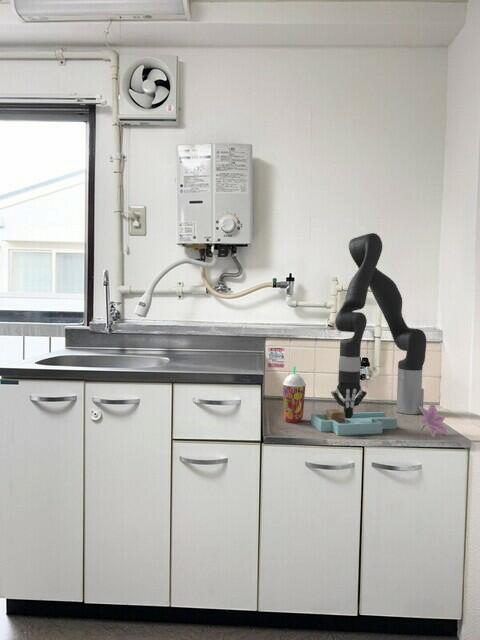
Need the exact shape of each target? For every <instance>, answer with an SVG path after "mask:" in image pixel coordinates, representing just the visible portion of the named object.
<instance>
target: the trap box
mask: <svg viewBox="0 0 480 640" xmlns="http://www.w3.org/2000/svg"><path fill="white" fill-rule="evenodd" d="M385 415H386V412H385V411H371V412H369V411H368V412H367V411H366V412H353V416H352V417H351V418H346V417H345V422H344V423H337V422H336V421H334V420H326V413H313V414H310V425H312V427H314V428H315V429H317V430H318V431H319V432H321V433H323V432H333V433H334V434H336V435H337V436H351V435H352V436H353V435H354V436H355V435H373V434H374V435H376V434H378V435H379V434H383V430H391V429H392V430H393V429H397V428H398V418H397V417H386V416H385Z"/></svg>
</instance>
